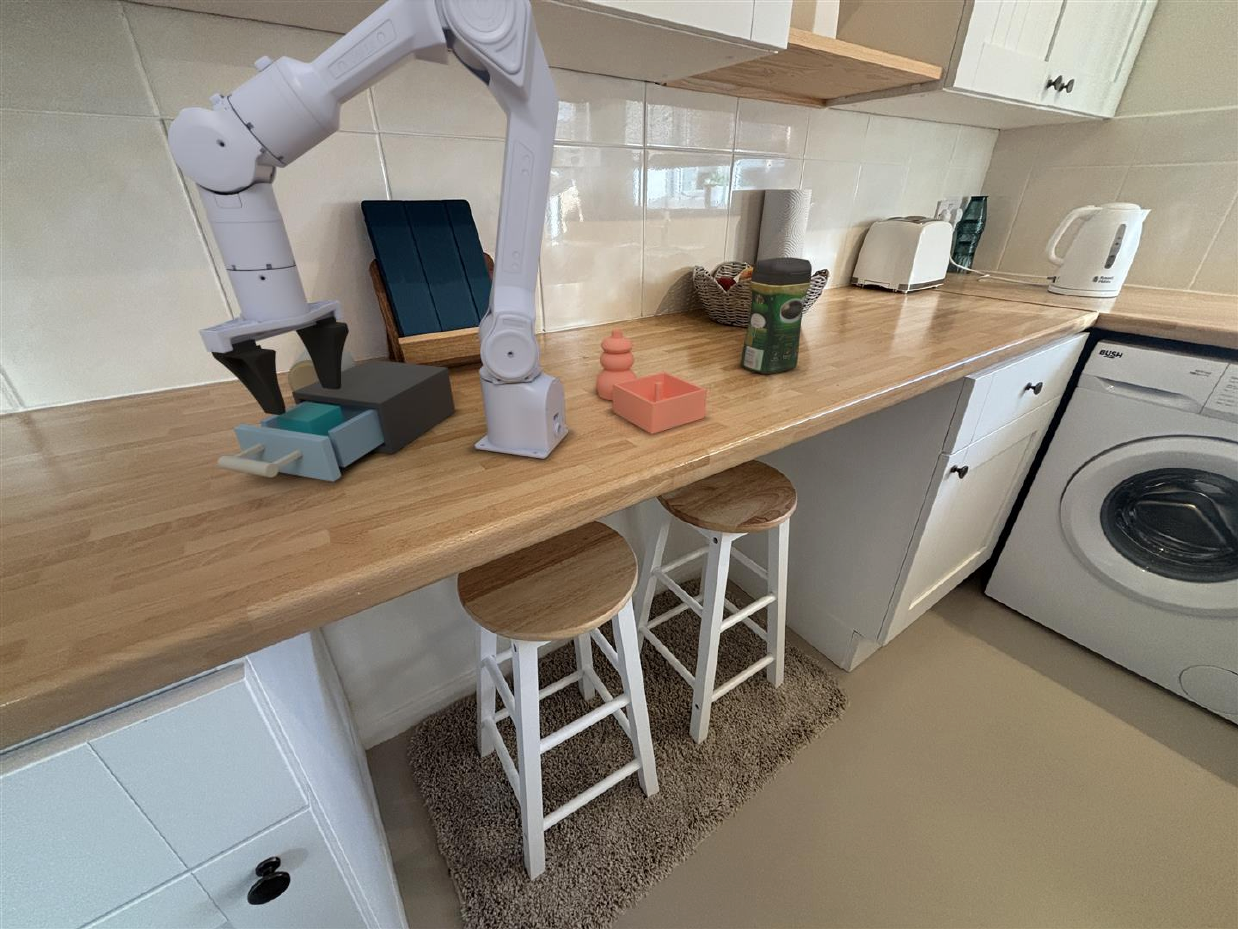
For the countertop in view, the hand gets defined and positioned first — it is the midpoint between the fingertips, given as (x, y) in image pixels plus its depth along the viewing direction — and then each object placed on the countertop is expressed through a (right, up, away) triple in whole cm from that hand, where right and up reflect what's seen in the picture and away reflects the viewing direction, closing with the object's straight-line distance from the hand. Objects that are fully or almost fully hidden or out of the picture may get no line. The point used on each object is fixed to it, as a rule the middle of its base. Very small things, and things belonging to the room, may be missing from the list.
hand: (305, 399), depth 54 cm
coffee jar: (+61, +10, +36) cm, 72 cm away
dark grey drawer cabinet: (+3, -2, +13) cm, 13 cm away
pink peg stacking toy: (+37, +2, +20) cm, 42 cm away
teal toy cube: (0, -5, +3) cm, 6 cm away
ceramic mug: (-9, +3, +22) cm, 24 cm away
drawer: (0, -6, +3) cm, 7 cm away
